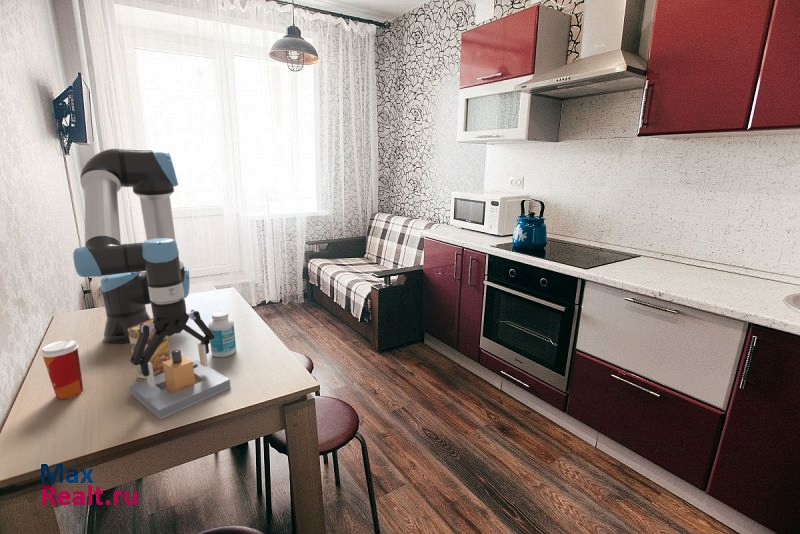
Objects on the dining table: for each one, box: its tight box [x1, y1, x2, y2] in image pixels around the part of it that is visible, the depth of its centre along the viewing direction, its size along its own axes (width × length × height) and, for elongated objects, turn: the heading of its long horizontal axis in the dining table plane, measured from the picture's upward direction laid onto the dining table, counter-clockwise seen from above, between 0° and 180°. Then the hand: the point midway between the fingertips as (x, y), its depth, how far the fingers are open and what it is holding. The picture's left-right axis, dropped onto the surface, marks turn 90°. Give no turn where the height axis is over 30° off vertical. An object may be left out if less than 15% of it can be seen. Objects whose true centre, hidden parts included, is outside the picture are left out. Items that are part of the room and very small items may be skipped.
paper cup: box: [40, 339, 84, 400], centre depth 106 cm, size 8×8×14 cm
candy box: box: [128, 317, 172, 380], centre depth 117 cm, size 9×4×15 cm, turn 163°
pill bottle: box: [207, 311, 237, 358], centre depth 129 cm, size 8×7×14 cm
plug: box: [162, 349, 196, 393], centre depth 108 cm, size 6×5×11 cm
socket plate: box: [129, 359, 232, 420], centre depth 109 cm, size 18×18×3 cm
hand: (179, 375), depth 108 cm, fingers open, 13 cm apart
